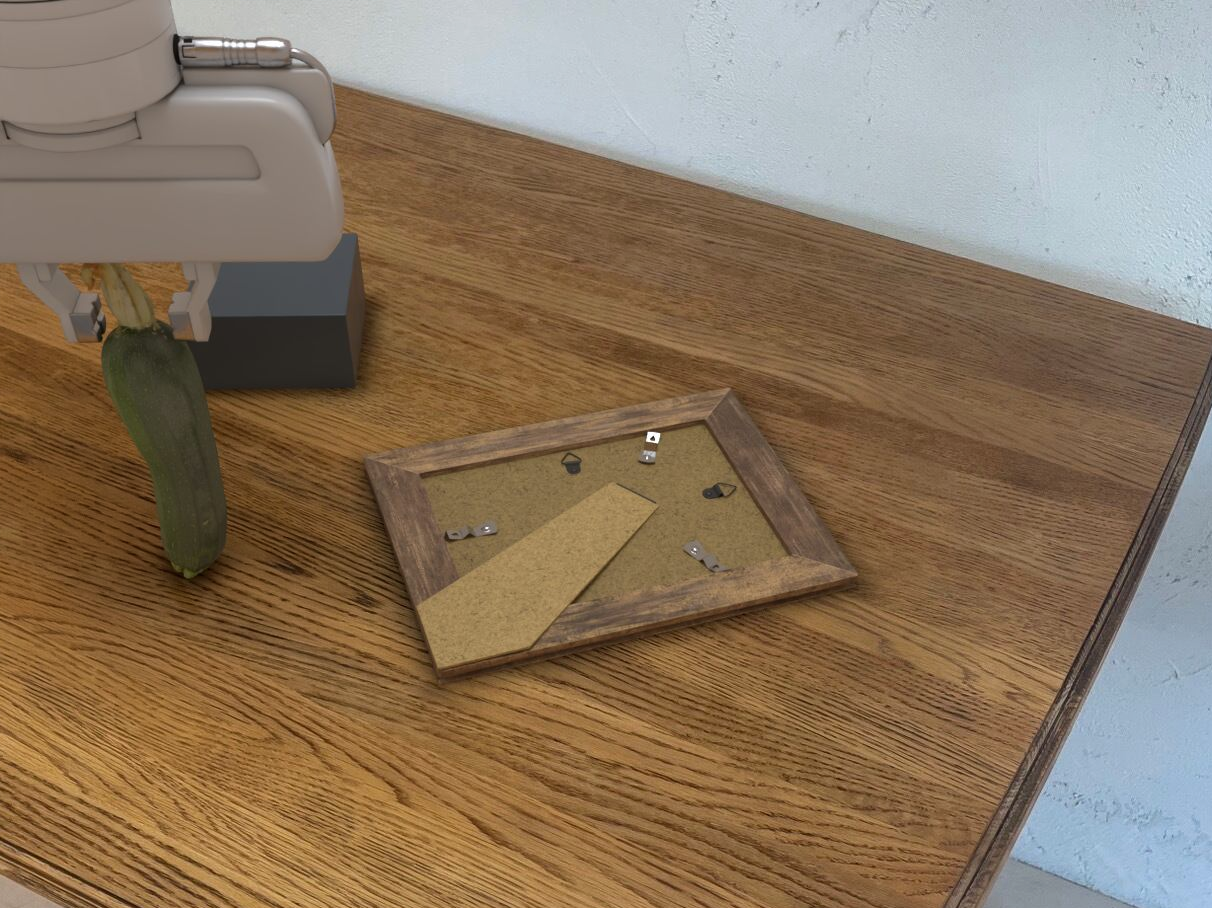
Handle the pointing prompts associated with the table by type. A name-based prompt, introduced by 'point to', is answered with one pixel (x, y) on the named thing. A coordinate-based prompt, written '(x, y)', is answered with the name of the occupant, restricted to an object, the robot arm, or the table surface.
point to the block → (285, 323)
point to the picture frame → (597, 531)
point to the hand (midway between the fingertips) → (141, 335)
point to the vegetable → (164, 419)
